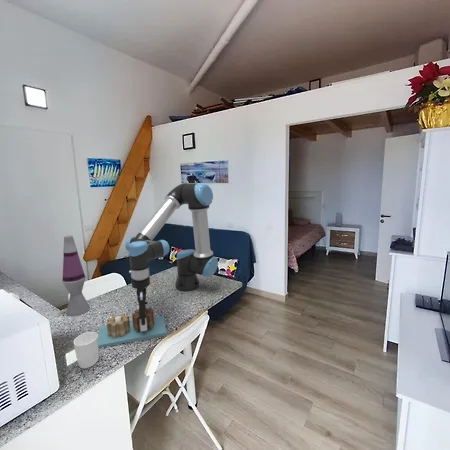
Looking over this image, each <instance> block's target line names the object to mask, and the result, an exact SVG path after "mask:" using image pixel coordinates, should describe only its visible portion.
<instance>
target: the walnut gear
mask: <svg viewBox="0 0 450 450" xmlns="http://www.w3.org/2000/svg"><path fill="white" fill-rule="evenodd" d="M145 310H146V319H147V328H151V327H153V324H154V317H155V315H154V313H155V312H154V310H153V309H152V307H148V308H147V307H146V309H145ZM131 316H132V317H131V320H132V321H133V328H135V330H137V331H138V330H139V329H140V319H138V317H139V309H135V310H134V311H133V312H132V313H131ZM140 330H141V329H140Z"/></svg>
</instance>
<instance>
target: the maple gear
mask: <svg viewBox="0 0 450 450" xmlns="http://www.w3.org/2000/svg"><path fill="white" fill-rule="evenodd" d="M116 316H121V321H119V322H115V317H116ZM106 326H107V331H108V336H109V337H110V336H112V338H117V337H119V336H120V337H123V336H125V334H126V333H129V332H130V315H128V314H125V313H121V314H114V315H112V317H108V318H107V320H106Z"/></svg>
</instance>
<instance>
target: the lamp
mask: <svg viewBox="0 0 450 450" xmlns="http://www.w3.org/2000/svg"><path fill="white" fill-rule="evenodd" d="M62 250H63V251H62V252H63V261H62V280H61V281H62V283H63V285H64V287H65V289H66V290H67V292H68V294H69V299H68V304H67V306H66V307H67V308H66V310H65V311H66V316H69V317H74V316H75V317H76V316H80V315H84V314H85V313H88V312H89V310H90V309H91V308H90V304H89V303H88V301H87V300H86V298H85V296H84V294H83V289H84V285H85V281H86V274H85V271H84V268H83V266H82V263H81V259H80V255H79V253H78V249H77V245H76V243H75V239H74V236H73V235H72V234H71V235H69V234H68V235H65V236H64V237H63V249H62Z"/></svg>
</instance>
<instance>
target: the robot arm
mask: <svg viewBox="0 0 450 450" xmlns="http://www.w3.org/2000/svg"><path fill="white" fill-rule="evenodd" d="M213 200H214V193H213V190H212V188H211V187H210V185H209V184H207V183H202V182H193V183H192V182H191V183H190V182H189V183H187V182H183V183H180V184H178V185H177V186H175V187H174V188H172V189H171V190H170V191H169V192H168V193H167V194H166V195H165V197H164V201H163V202H162V204H161V205H159V207H158V208H157V210H156V211H155V212H154V213H153V215H152V216H151V217H150V218H149V219H148V221H147V222H146V223H145V225H144V226H143V227H142V228H141V230H140V231H139V232H138V233H137V234H136V236H133V237H129V238H127V240H126V241H125V244H124V246H125V249H126V251H127V252H128V256H129V267H130V268H129V269H130V270H129V271H128V273H129V274H130V277H131V279H130V281H131V287H132V289H135V290H136V297H137V302H138V310H139V317H138V319H140V329H141V331H147V319H146V310H145V309H146V308H147V305H148V301H147V288H148V287H149V286H150V285H151V282H150V281H151V280H150V278H151V277H150V274H151V273H150V265H149V264H150V261H154V260H156V259H159V258H163V257H164V256H166V255H169V252H170V245H169V243H168V241H166V240H164V239H159V240H154V239H155V237H156V236H157V235H158V233H159V232H160V231H161V229H162V228H163V227H164V225H165V224H166V223H167V222H168V220H169V219H170V218H171V216H172V215H173V214H174V212H175V211H176V210H178V209H180V208H181V206H184V205H187V208H188V210H189V211H190V212H191V218H192V219H191V221H192V229H193V237H194V238H193V239H194V248H195V249H190V248H189V249H184V250H180V251H178V252H177V254H176V268H177V270H176V272H177V275H176V279H175V284H174V285H175V286H174V288H175V289H176V290H178V291H181V292H191V291H195V290H196V289H198V288H199V287H200V280H199V278H198V275H200V276H203V277H205V276H206V277H211V276H213V275H214V274H215V273H216V272H217V269H218V266H219V261H218V260H219V259H218V258H217V257H216V256H214V252H213V250H211V241H210V232H209V228H210V227H209V218H208V217H209V215H208V209H210V205H211V204H212V203H213Z"/></svg>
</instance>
